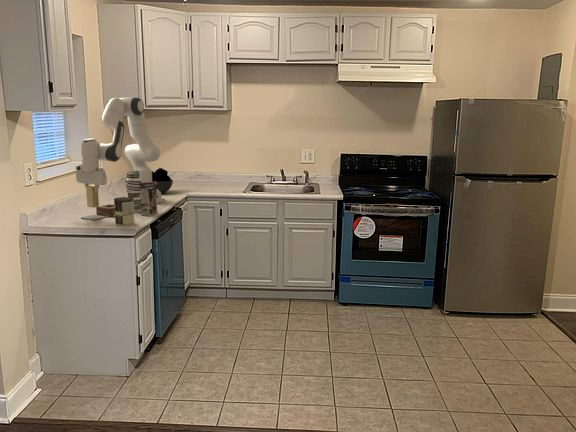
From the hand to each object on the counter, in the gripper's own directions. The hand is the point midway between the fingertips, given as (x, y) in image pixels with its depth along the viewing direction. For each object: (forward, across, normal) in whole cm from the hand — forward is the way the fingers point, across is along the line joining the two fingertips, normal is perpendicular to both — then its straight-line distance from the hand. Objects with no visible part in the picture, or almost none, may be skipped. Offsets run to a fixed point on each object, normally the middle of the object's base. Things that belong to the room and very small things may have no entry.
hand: (92, 191), depth 289 cm
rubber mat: (+15, 0, 0) cm, 15 cm away
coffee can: (+15, -26, +3) cm, 30 cm away
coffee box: (+15, -20, -24) cm, 35 cm away
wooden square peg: (+9, 0, 0) cm, 9 cm away
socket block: (+15, 0, -12) cm, 19 cm away
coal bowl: (+15, +24, -87) cm, 92 cm away
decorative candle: (+15, -5, -28) cm, 32 cm away
